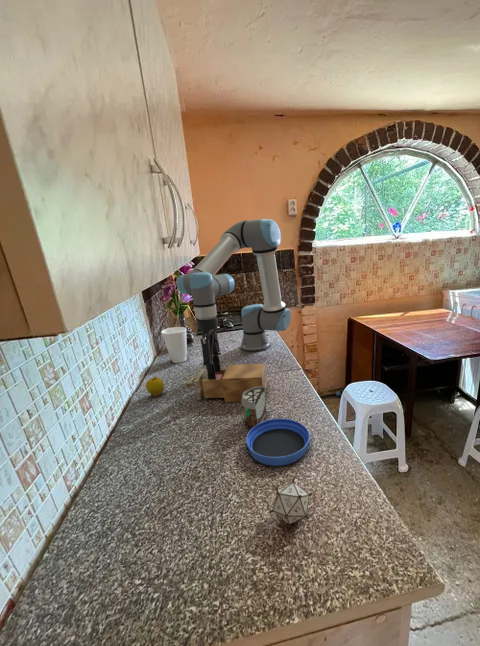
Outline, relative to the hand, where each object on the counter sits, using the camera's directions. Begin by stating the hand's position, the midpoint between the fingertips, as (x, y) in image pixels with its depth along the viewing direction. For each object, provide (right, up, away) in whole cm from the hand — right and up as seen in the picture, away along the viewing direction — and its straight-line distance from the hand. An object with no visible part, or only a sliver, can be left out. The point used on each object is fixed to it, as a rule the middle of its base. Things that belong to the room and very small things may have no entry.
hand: (214, 375), depth 118 cm
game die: (+29, -27, -51) cm, 65 cm away
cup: (-27, +5, +39) cm, 48 cm away
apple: (-24, -8, +5) cm, 26 cm away
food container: (+16, -14, -15) cm, 26 cm away
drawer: (-1, -7, +3) cm, 7 cm away
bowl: (+25, -18, -29) cm, 43 cm away
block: (0, -5, +2) cm, 6 cm away
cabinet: (+12, -7, +2) cm, 14 cm away
